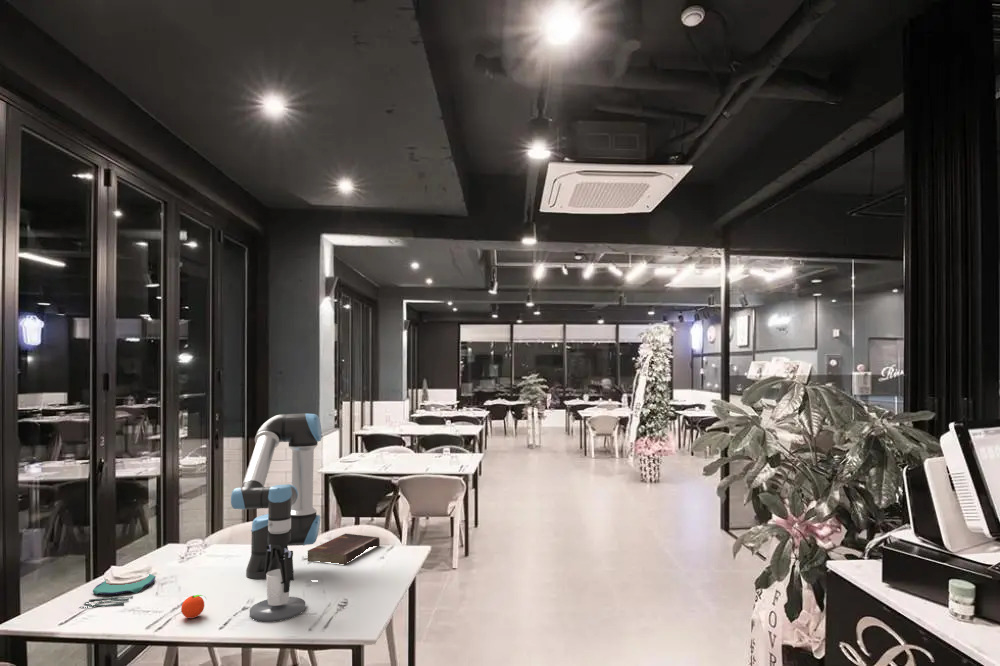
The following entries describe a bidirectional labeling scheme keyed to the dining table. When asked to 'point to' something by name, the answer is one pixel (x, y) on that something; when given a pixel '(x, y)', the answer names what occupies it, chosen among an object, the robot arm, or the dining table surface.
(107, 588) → the cutlery set
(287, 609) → the slate plate
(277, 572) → the white cup
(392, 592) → the dining table surface
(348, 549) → the hardback book
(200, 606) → the clementine
